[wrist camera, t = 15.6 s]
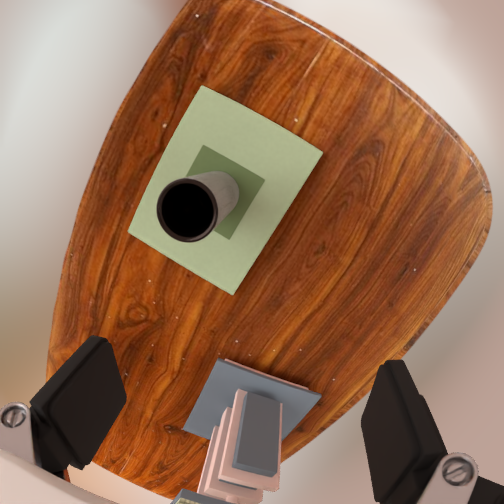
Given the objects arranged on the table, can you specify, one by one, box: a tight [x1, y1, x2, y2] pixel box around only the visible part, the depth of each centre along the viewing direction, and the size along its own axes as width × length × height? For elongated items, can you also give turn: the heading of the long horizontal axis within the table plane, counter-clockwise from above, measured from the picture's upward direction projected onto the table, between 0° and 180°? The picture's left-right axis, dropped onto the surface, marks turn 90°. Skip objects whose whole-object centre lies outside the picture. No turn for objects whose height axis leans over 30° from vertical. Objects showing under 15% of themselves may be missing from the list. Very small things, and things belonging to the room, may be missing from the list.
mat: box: [128, 85, 323, 295], centre depth 30 cm, size 18×14×1 cm
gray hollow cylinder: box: [156, 171, 239, 243], centre depth 25 cm, size 4×4×10 cm
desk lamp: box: [171, 358, 321, 504], centre depth 24 cm, size 18×14×33 cm
